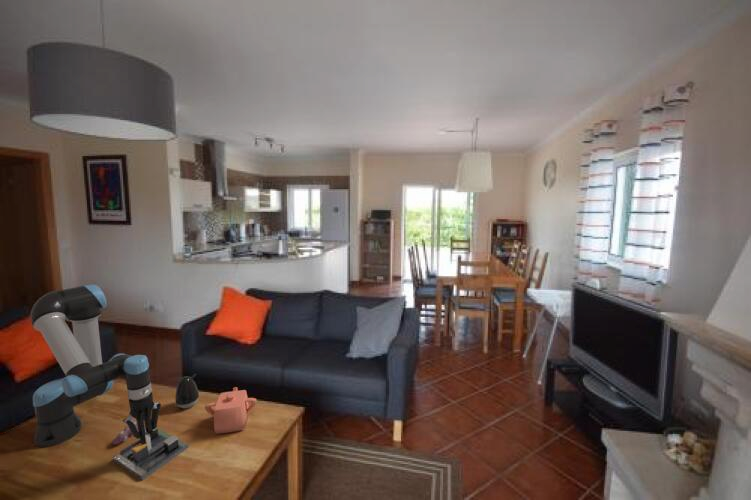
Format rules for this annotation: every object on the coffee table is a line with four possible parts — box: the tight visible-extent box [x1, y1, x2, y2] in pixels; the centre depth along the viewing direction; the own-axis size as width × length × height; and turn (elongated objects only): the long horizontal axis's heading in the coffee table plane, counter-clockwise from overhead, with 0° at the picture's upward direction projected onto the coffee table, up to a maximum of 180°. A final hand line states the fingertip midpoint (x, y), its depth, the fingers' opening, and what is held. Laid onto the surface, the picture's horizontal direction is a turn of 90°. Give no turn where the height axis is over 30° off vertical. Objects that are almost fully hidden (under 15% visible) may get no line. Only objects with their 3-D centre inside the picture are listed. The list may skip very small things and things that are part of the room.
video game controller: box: [112, 421, 138, 445], centre depth 145 cm, size 10×5×7 cm, turn 169°
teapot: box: [204, 386, 257, 435], centre depth 156 cm, size 20×22×14 cm
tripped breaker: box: [132, 443, 148, 462], centre depth 132 cm, size 3×4×5 cm
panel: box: [112, 426, 189, 481], centre depth 135 cm, size 20×18×6 cm
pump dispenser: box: [174, 373, 200, 409], centre depth 166 cm, size 10×10×15 cm
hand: (147, 448), depth 134 cm, fingers closed
